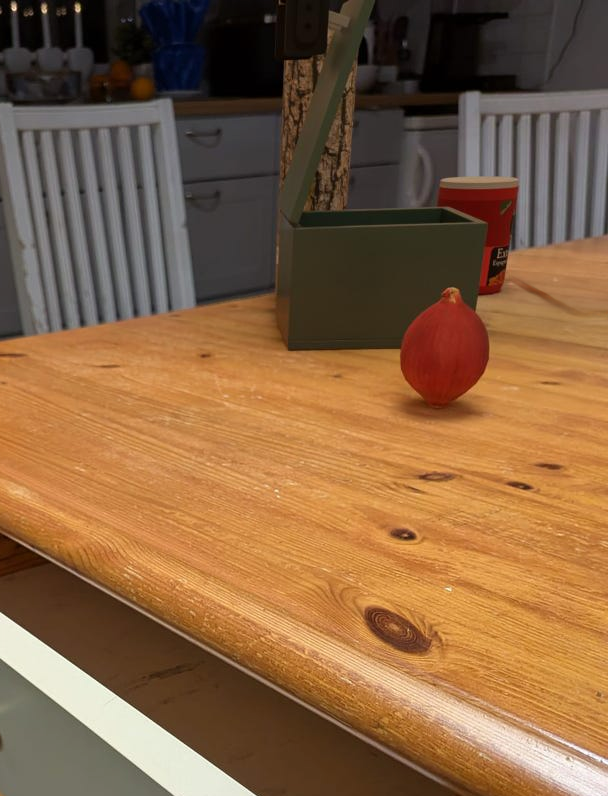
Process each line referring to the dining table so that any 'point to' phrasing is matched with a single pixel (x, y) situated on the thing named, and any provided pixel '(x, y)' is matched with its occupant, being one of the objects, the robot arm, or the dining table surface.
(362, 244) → the bin
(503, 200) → the canned food
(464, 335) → the onion
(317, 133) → the bin lid
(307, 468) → the dining table surface
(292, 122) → the bark log
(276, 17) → the robot arm
